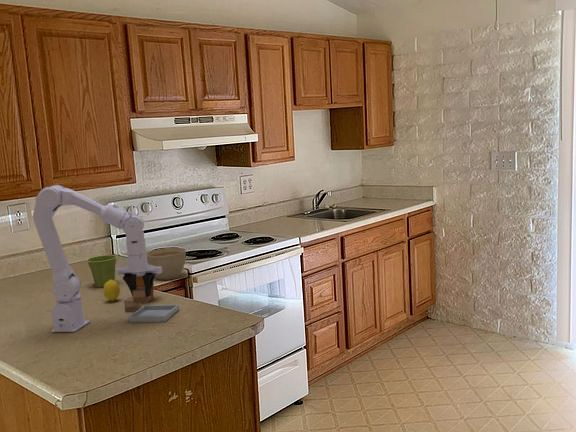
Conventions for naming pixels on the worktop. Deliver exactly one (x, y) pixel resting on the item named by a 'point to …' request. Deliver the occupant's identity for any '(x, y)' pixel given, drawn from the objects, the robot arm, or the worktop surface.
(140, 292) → the walnut block
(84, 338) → the worktop surface
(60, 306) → the robot arm
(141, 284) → the disposable coffee cup
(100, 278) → the plant pot
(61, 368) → the worktop surface
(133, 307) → the walnut block
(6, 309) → the worktop surface
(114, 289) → the lemon
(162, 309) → the tray
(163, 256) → the planter bowl
